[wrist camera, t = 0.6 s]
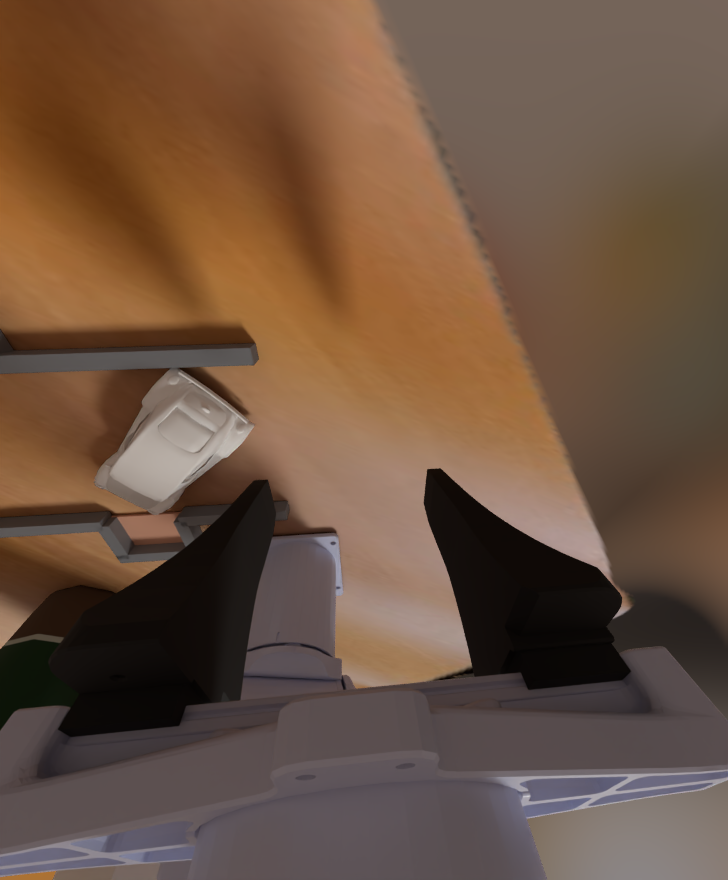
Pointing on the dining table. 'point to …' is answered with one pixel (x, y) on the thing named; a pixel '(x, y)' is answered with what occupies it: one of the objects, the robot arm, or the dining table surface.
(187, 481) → the car
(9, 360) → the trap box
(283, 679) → the robot arm
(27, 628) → the beer bottle
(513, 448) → the dining table surface
